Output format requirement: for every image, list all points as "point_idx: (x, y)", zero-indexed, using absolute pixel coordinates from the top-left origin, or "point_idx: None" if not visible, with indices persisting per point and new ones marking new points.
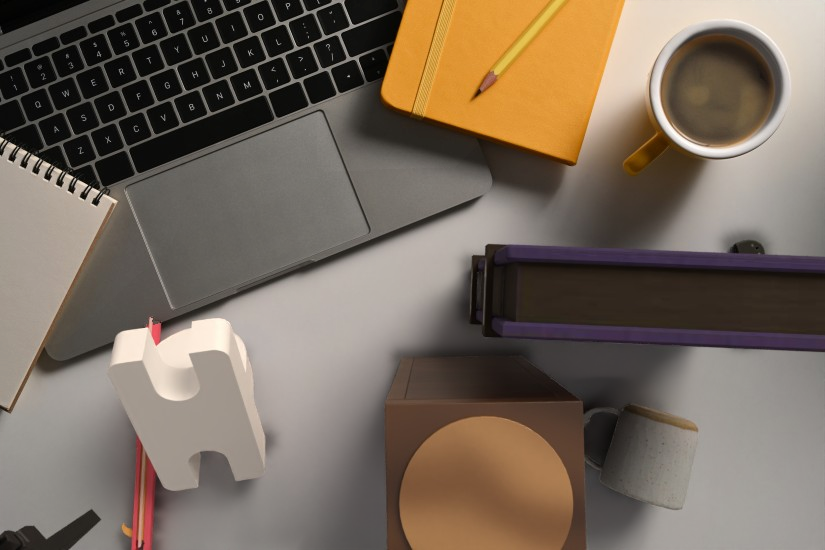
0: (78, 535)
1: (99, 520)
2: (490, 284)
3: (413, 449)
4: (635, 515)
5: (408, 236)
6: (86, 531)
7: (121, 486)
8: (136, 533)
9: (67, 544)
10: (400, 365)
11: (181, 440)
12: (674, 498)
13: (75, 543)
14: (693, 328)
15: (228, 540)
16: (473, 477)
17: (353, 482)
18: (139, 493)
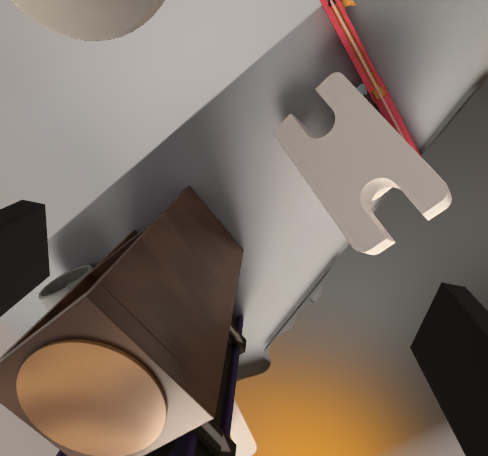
0: (443, 408)
1: (413, 352)
2: (214, 452)
3: (169, 404)
4: (61, 253)
5: (288, 310)
6: (427, 368)
7: (374, 30)
8: (339, 9)
9: (462, 446)
10: (239, 273)
11: (350, 135)
12: (45, 303)
13: (430, 308)
14: None
15: (267, 54)
16: (114, 414)
17: (215, 159)
18: (356, 42)
